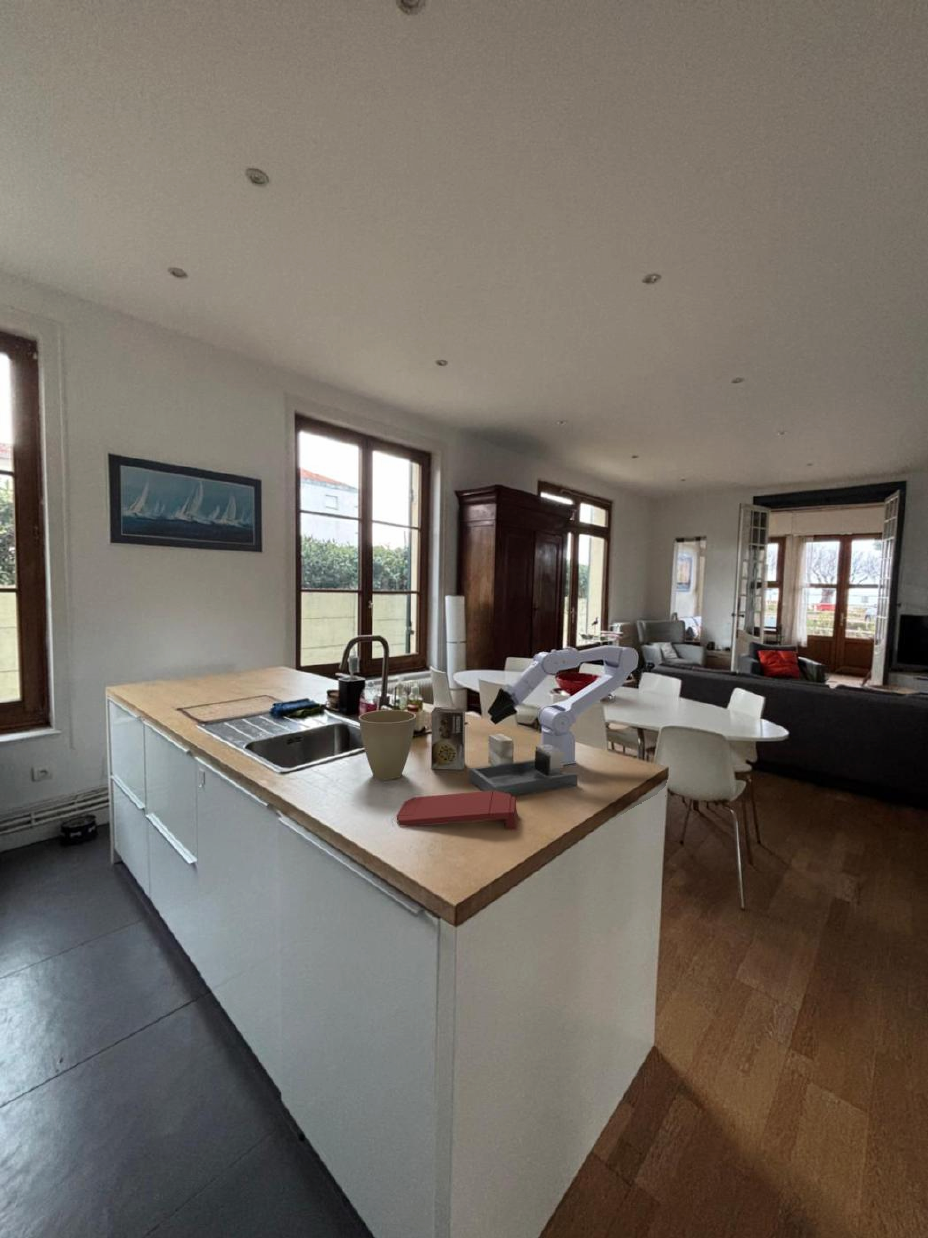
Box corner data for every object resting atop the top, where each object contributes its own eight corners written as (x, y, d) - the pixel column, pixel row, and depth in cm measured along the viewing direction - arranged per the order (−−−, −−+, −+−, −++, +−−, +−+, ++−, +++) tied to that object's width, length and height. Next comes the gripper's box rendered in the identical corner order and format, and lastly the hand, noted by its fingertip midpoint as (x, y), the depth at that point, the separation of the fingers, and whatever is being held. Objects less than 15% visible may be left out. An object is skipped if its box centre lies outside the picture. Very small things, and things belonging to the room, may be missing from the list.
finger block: (502, 760, 147) (502, 733, 147) (514, 768, 141) (514, 740, 140) (488, 762, 145) (488, 735, 145) (499, 770, 139) (500, 741, 139)
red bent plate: (396, 844, 105) (516, 835, 101) (393, 820, 104) (512, 811, 101) (410, 818, 117) (517, 810, 113) (407, 797, 116) (514, 788, 113)
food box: (465, 763, 144) (466, 707, 144) (463, 770, 138) (464, 712, 137) (433, 761, 145) (434, 706, 145) (430, 769, 139) (431, 711, 138)
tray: (546, 768, 141) (547, 740, 141) (577, 785, 128) (578, 754, 128) (469, 779, 131) (469, 749, 131) (494, 799, 118) (494, 766, 118)
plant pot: (404, 763, 143) (405, 707, 143) (423, 780, 130) (424, 719, 129) (352, 770, 137) (352, 712, 136) (366, 789, 123) (366, 725, 123)
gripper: (516, 683, 151) (484, 715, 148) (513, 666, 138) (478, 701, 135) (533, 699, 148) (501, 732, 145) (532, 683, 135) (496, 719, 132)
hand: (491, 718), depth 140 cm, fingers open, 7 cm apart
